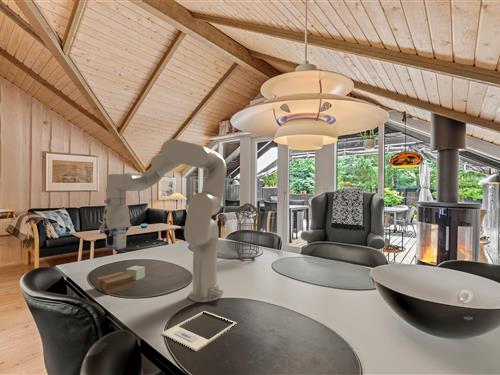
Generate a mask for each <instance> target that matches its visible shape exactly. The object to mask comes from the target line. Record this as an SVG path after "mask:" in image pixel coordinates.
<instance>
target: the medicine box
mask: <svg viewBox="0 0 500 375" xmlns="http://www.w3.org/2000/svg"><path fill="white" fill-rule="evenodd" d="M105 229H106V230H107V228H105ZM112 236H113V245H107V236H106V235H105V248H106V249H111V250H123V249H126V248H127V232H126V228H118V229H113V232H112Z"/></svg>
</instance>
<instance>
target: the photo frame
mask: <svg viewBox="0 0 500 375" xmlns="http://www.w3.org/2000/svg"><path fill="white" fill-rule="evenodd" d="M203 312H204V313H205V314H208V315H211V316H214V317H216V318H219V319H221V318H222V320H224V319H225V321H227V320H228V321H227V322H230V323H232V322H233V323H232V324H230V325H228V326H227V327H226V328H224V329H223V330H221V331H219V332H218V333H216V335H214V336H212V337H210V338H209V339H207V338H205V337H203V336H201V335H198V334H196V333H193V332H192V331H188V330H187V329H185V328H183V327H181V326H183V325H185V324H187V323H189V322H191V321H193V320H195V319H197V318H199V316H200V317H201V316H202V315H203ZM192 319H193V320H192ZM190 320H191V321H190ZM188 321H189V322H188ZM186 322H187V323H186ZM235 324H237V325H238V322H236V321H233V320H231V319H228V318H226V317H222V316H220V315H217V314H215V313H212V312H209V311H207V310H203V311H201V312H199V313H197V314H195V315H193V316H191V317H190V318H187V319H186V320H184V321H182V322H180V323H178V324H175V325H173V326H172V327H170V328H168V329H166V330H164V331H163V332H161V335H162V336H165V337H166V336H167V337H166V338H168V337H169V338H168V339H170V338H171V339H170V340H172V339H173V340H172V341H175V342H176V341H177V342H176V343H178V342H179V343H178V344H180V343H181V344H180V345H182V344H183V345H182V346H184V345H185V346H184V347H186V346H187V348H188V347H189V348H188V349H190V348H191V350H193V351H195V352H198V351H200V350H201V349H202V348H204V347H205V346H207V345H209V344H210V343H212V342H213V341H215V340H216V339H217V338H219V337H220V336H222V335H223V334H225V333H226V332H228V331H229V330H231V329H232V328H233V327H232V326H234V325H235ZM235 326H236V325H235ZM235 326H234V327H235ZM231 327H232V328H231ZM230 328H231V329H230ZM227 330H228V331H227ZM224 332H225V333H224ZM221 334H222V335H221Z"/></svg>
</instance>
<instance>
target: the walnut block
mask: <svg viewBox="0 0 500 375" xmlns="http://www.w3.org/2000/svg"><path fill="white" fill-rule="evenodd" d="M95 278H96V281H95V289H96V290H98V289H99V291H100V292H102V291H103V292H102V293H104V294H106V295H107V294H108V295H111V294H110V293H112V294H115V293H118V291H119V292H122V291H125V289H126V290H128V289H132V288H134V286H135V284H134V283H135V282H134V281H135V280H134V276H131V275H129V274H126V272H124V271H119V272H118V271H117V272H115V273H114V272H113V273H110V274H106V275H102V276H97V277H95ZM114 292H115V293H114Z"/></svg>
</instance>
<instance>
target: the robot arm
mask: <svg viewBox="0 0 500 375" xmlns="http://www.w3.org/2000/svg"><path fill="white" fill-rule="evenodd" d="M150 164H151V167H150V168H148V169H147V170H145V171H144V172H142V173H133V172H131V173H130V172H129V173H128V172H127V173H110V174H108V175H107V176H106V177H107V178H106V180H107V181H106V199H104V200H103V201H104V202H103V203H104V204H106V205H105V206H104V210H103V216H102V223H101V225H100V226H99V228H98V230H99V231H100V232H102V233H103V234H104V235H105V237H106V236H107V245H113V236H112V232H113V229H118V228H126V233H127V232H128V231H129V229H130V228H131V227H132V226H133V225H132V224H131V222H130V221H131V220H130V219H131V216H130V210H129V205H128V204H127V192H134V191H135V192H136V191H137V192H138V191H145V190H147V189H150V188H152V187H153V186H154V185H156V184H158V183H160V181H161V180H162V179H163V177H164V176H165V175H166V174H167V173H170V172H171V171H172V170H175V169H176V168H177V167H179V166H181V165H185V166H190V167H193V168H199V169H204V170H206V174H205V176H204V179H203V184H202V190H201V191H200V192H197V193H196V194H195V195H193V196H192V198H191V199H190V201H189V203H188V206H187V212H186V213H187V214H186V218H185V222H184V223H185V224H184V229H183V236H184V240H185V241H186V243H187V244H189V246H192V247H193V249H192V250H193V253H192V290H191V291H190V292H189V293H188V299H189V300H191V301H192V302H196V303H209V302H213V301H216V300H218V299H221V298H222V296H223V294H224V290H222V289H219V286H220V285H218V284H217V278H218V276H217V269H218V268H217V267H218V266H217V265H218V264H217V263H218V262H217V261H218V259H217V258H218V242H219V234H220V233H219V225H218V223H217V222H216V221H215V220H214V219H213V218H212V217H213V216H214V215H216V214H219V213H218V212H219V211H220V210H221V207H222V201H223V195H224V191H225V190H224V189H225V183H226V179H227V178H226V177H227V170H228V168H227V163H226V160H225V159H224V158H223V156H222V155H221V154H220V153H218V152H217V151H215V150H214V149H212V148H209V147H207V146H204V145H202V144H196V143H192V142H189V141H184V140H180V139H175V138H169V139H167V140H165V141H164V142H163V143H162V144H161V148H160V152H159V153H157V154H156V155H154V156H153V157H151V160H150ZM106 228H107V230H106Z"/></svg>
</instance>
